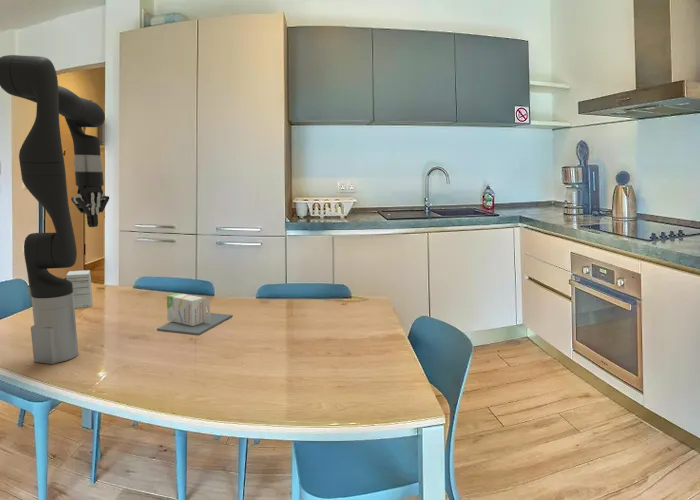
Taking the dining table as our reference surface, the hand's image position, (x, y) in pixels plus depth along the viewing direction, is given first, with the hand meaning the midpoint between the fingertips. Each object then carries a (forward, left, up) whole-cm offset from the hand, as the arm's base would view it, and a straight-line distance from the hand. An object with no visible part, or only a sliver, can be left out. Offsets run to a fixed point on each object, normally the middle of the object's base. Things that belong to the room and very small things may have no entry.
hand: (93, 226), depth 145 cm
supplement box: (+17, +25, -32) cm, 44 cm away
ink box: (+11, -19, -27) cm, 35 cm away
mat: (+11, -28, -32) cm, 44 cm away
